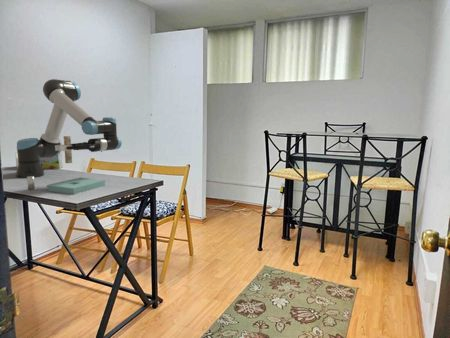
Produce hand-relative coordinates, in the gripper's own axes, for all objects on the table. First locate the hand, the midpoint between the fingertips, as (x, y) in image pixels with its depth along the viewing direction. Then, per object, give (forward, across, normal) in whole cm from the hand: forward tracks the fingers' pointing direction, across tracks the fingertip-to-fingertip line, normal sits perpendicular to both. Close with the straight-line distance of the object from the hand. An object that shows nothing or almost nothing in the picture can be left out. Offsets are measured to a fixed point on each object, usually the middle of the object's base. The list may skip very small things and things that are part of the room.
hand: (57, 148), depth 163 cm
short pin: (+8, +13, -22) cm, 27 cm away
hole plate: (-8, -3, -22) cm, 23 cm away
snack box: (-33, +70, -22) cm, 80 cm away
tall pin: (-5, 0, -8) cm, 10 cm away
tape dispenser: (-31, +85, -22) cm, 93 cm away
